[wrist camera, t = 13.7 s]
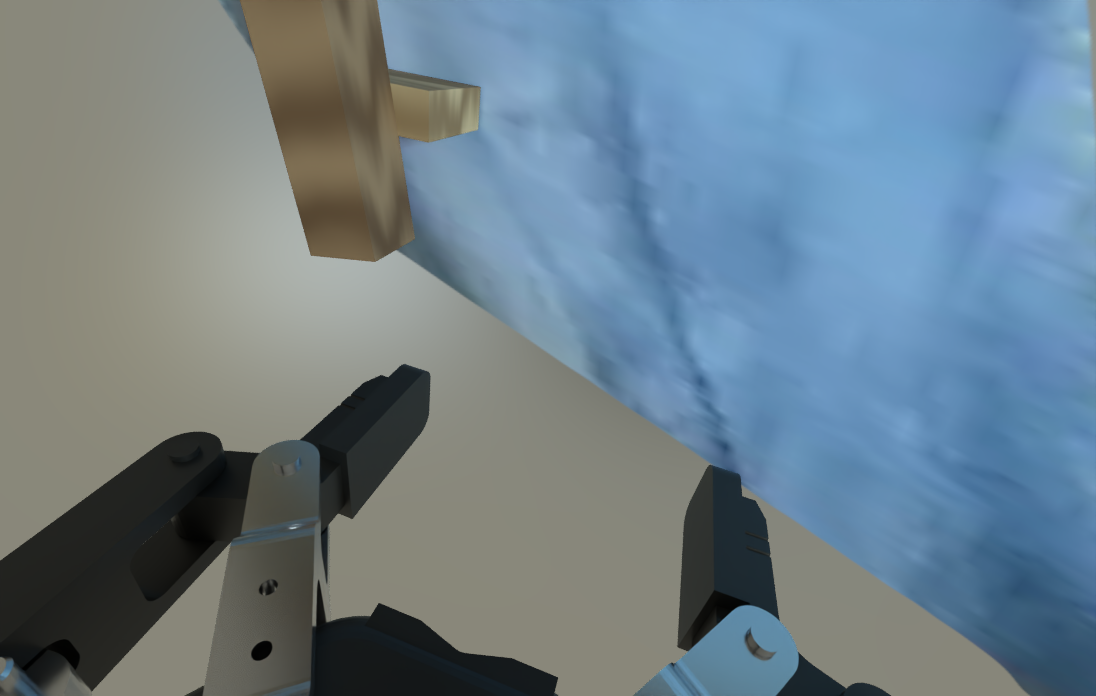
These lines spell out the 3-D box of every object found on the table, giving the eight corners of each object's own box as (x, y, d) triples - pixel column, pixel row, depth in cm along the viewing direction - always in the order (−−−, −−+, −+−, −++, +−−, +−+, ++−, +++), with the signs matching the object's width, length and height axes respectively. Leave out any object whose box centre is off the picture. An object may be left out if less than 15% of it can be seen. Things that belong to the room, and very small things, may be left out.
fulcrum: (364, 64, 37) (290, 62, 31) (480, 87, 36) (429, 90, 29) (366, 105, 39) (296, 113, 32) (477, 129, 37) (428, 142, 31)
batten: (287, -78, 27) (210, -105, 23) (363, -86, 26) (296, -116, 21) (356, 234, 36) (310, 255, 32) (414, 238, 35) (375, 261, 31)
